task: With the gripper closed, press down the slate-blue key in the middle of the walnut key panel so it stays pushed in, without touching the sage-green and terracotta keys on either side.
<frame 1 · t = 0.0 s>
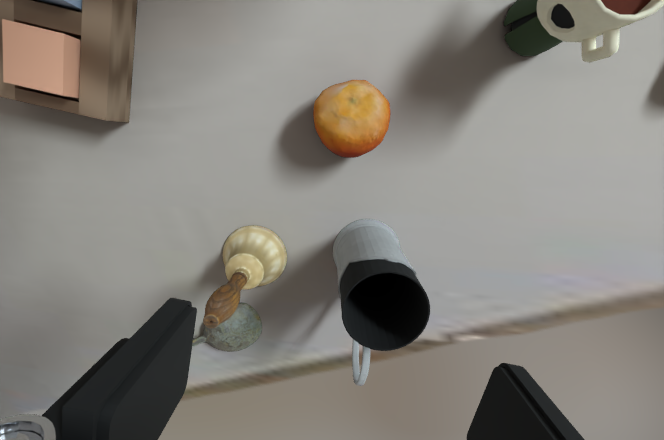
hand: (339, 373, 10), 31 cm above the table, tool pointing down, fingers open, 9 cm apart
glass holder: (361, 270, 43), on the table
character mug: (528, 27, 36), on the table
terracotta key: (46, 61, 32), point 4 cm above the table, slide at 0.0 cm
hand bell: (255, 255, 42), on the table
soupspoon: (188, 336, 46), on the table
fruit: (349, 121, 38), on the table
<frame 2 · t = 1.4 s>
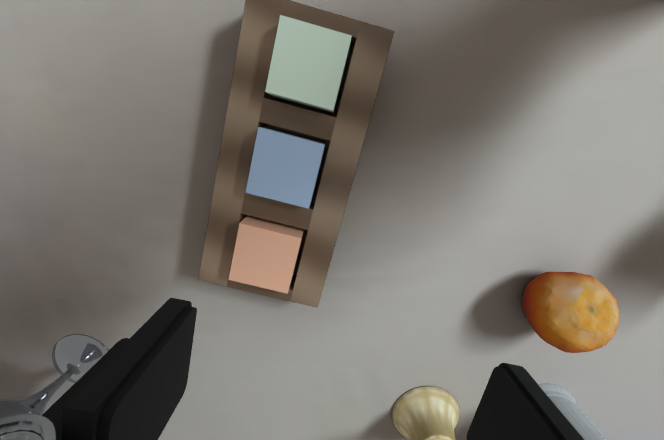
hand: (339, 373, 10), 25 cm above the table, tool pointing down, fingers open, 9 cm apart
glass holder: (531, 428, 41), on the table
wine glass: (84, 359, 39), on the table
slate key: (286, 167, 29), point 4 cm above the table, slide at 0.0 cm
sage key: (308, 67, 27), point 4 cm above the table, slide at 0.0 cm
key panel: (292, 163, 33), on the table
terracotta key: (267, 253, 31), point 4 cm above the table, slide at 0.0 cm
hand bell: (424, 411, 41), on the table
fruit: (546, 293, 37), on the table
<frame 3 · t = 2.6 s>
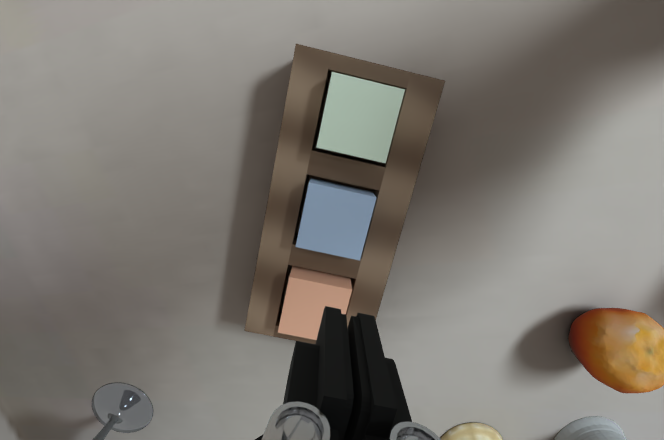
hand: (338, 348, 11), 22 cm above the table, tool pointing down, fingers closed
wine glass: (123, 406, 38), on the table
slate key: (335, 218, 28), point 4 cm above the table, slide at 0.0 cm
sage key: (358, 120, 26), point 4 cm above the table, slide at 0.0 cm
key panel: (334, 208, 32), on the table
terracotta key: (315, 303, 30), point 4 cm above the table, slide at 0.0 cm
fruit: (592, 327, 36), on the table
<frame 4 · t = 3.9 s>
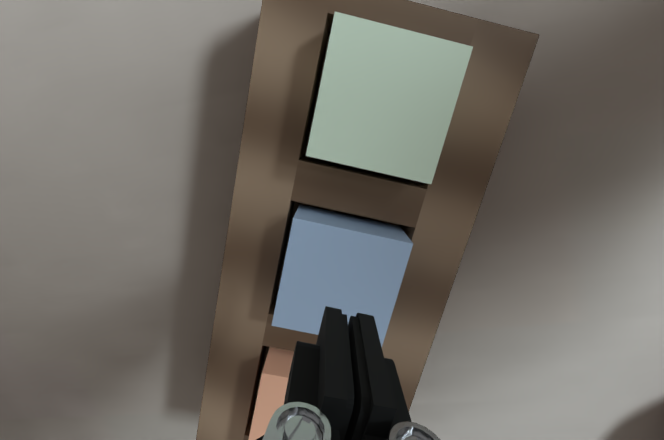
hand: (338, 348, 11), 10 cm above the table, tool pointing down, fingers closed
slate key: (339, 273, 17), point 4 cm above the table, slide at 0.0 cm
sage key: (380, 106, 15), point 4 cm above the table, slide at 0.0 cm
key panel: (337, 246, 21), on the table
terracotta key: (306, 403, 19), point 4 cm above the table, slide at 0.0 cm
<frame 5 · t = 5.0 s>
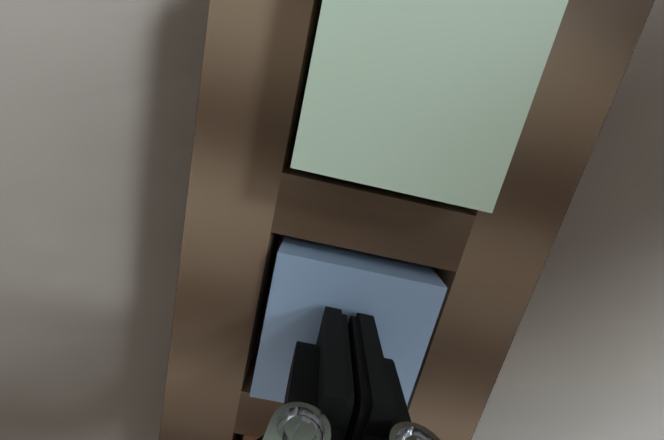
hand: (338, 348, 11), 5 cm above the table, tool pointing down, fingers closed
slate key: (342, 320, 13), point 3 cm above the table, slide at 1.0 cm, touching gripper
sage key: (409, 89, 9), point 4 cm above the table, slide at 0.0 cm
key panel: (340, 284, 15), on the table
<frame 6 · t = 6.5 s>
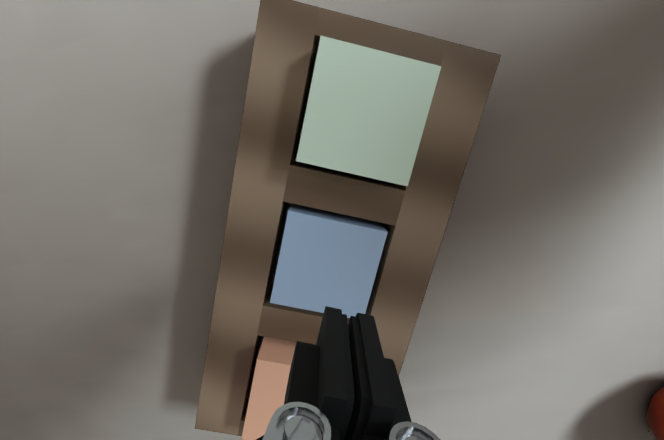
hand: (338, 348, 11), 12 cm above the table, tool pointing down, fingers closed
slate key: (327, 258, 20), point 3 cm above the table, slide at 1.4 cm
sage key: (362, 117, 17), point 4 cm above the table, slide at 0.0 cm
key panel: (326, 244, 23), on the table
terracotta key: (298, 389, 20), point 4 cm above the table, slide at 0.0 cm
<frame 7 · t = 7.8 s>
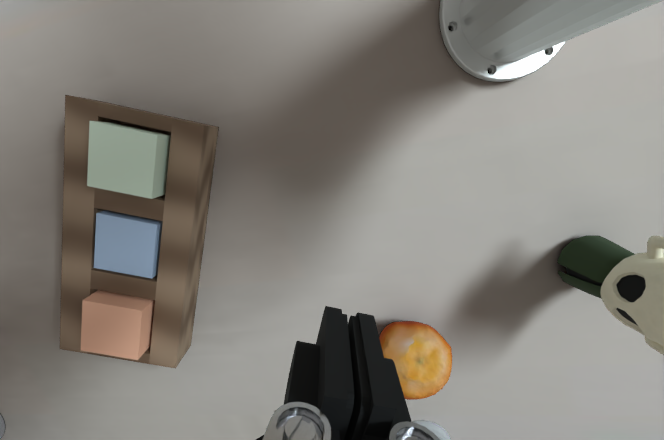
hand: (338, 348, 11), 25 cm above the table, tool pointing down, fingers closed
slate key: (133, 241, 33), point 3 cm above the table, slide at 1.4 cm
character mug: (579, 258, 37), on the table
sage key: (131, 159, 29), point 4 cm above the table, slide at 0.0 cm
key panel: (148, 234, 35), on the table
terracotta key: (120, 322, 33), point 4 cm above the table, slide at 0.0 cm
fruit: (404, 338, 39), on the table
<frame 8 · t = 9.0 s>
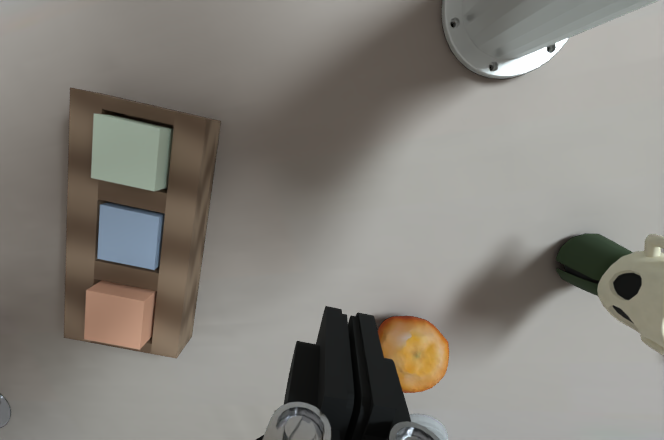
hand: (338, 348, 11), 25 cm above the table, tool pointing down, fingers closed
slate key: (136, 233, 33), point 3 cm above the table, slide at 1.4 cm
character mug: (578, 256, 37), on the table
sage key: (134, 152, 30), point 4 cm above the table, slide at 0.0 cm
key panel: (150, 226, 36), on the table
terracotta key: (122, 312, 34), point 4 cm above the table, slide at 0.0 cm
fruit: (402, 333, 40), on the table
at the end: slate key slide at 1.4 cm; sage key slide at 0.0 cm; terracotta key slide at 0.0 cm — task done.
